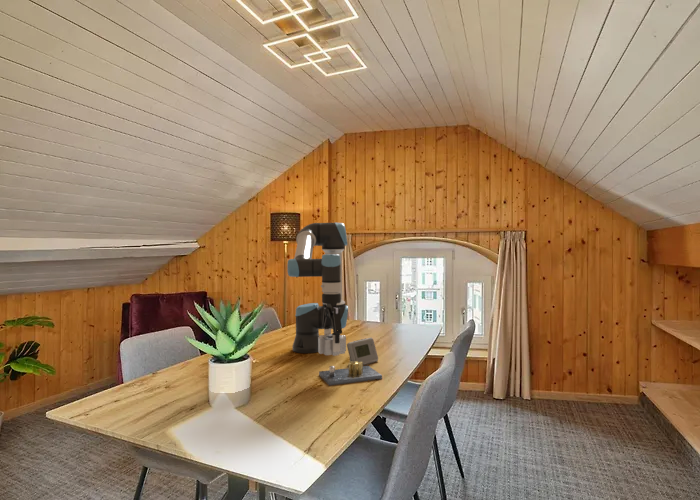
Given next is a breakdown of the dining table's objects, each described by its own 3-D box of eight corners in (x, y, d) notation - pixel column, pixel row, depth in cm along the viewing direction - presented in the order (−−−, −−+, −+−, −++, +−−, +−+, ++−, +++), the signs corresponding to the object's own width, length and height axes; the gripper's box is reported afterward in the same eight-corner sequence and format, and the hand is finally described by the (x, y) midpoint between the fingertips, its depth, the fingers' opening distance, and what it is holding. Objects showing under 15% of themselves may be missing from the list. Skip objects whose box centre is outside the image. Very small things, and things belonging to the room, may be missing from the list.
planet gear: (315, 349, 173) (315, 334, 173) (340, 347, 177) (340, 332, 177) (322, 356, 163) (322, 341, 163) (349, 354, 167) (349, 338, 167)
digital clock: (352, 369, 184) (352, 344, 184) (341, 364, 191) (341, 340, 191) (383, 363, 192) (382, 339, 192) (371, 358, 200) (371, 336, 200)
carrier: (319, 375, 176) (318, 361, 176) (368, 369, 183) (368, 356, 183) (329, 385, 163) (328, 371, 162) (381, 378, 170) (381, 365, 170)
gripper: (314, 290, 180) (315, 342, 180) (331, 296, 158) (331, 355, 158) (331, 289, 182) (332, 341, 182) (350, 295, 160) (350, 353, 160)
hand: (332, 348), depth 170 cm, fingers closed on planet gear, 11 cm apart
